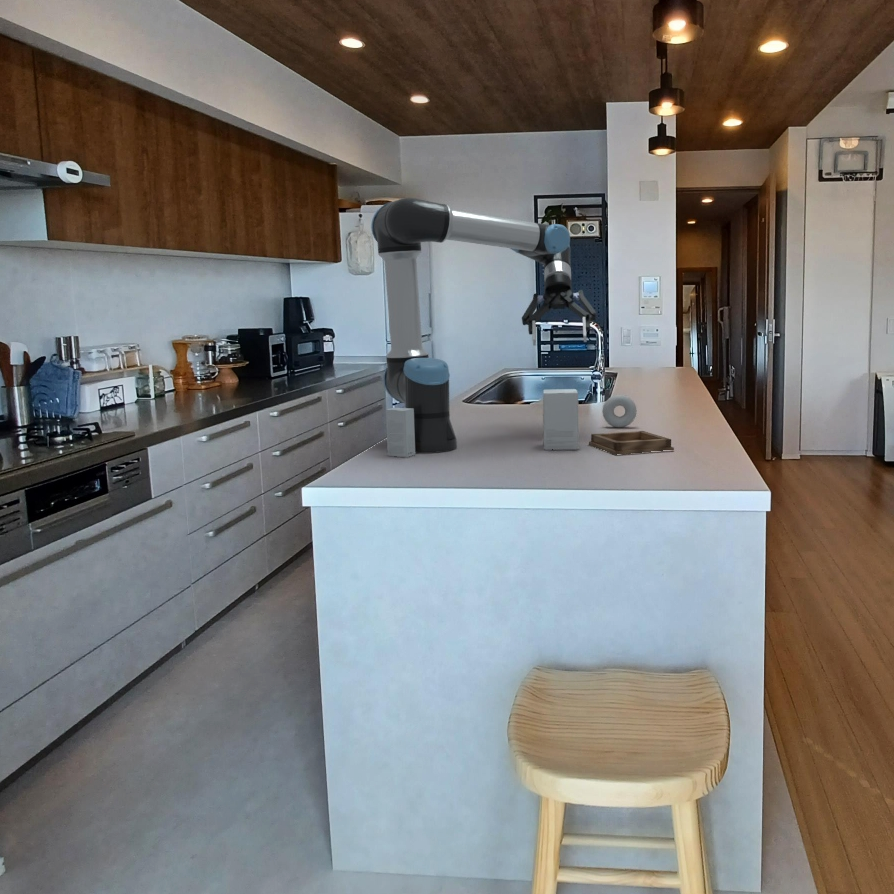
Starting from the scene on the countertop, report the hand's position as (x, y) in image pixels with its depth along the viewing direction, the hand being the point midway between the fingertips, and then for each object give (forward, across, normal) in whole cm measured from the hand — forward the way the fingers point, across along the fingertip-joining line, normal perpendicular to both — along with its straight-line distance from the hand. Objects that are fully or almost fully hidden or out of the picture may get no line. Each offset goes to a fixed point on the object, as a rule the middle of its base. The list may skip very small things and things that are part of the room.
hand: (559, 340), depth 233 cm
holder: (+29, -17, -9) cm, 35 cm away
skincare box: (+36, +40, +3) cm, 54 cm away
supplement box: (+28, +1, -10) cm, 30 cm away
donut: (+6, -15, -36) cm, 40 cm away
